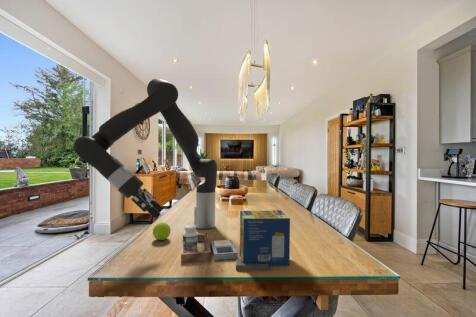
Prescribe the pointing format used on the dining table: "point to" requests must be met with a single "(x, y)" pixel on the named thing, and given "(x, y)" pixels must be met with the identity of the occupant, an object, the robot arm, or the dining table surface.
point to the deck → (223, 250)
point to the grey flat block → (251, 266)
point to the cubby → (198, 255)
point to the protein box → (265, 237)
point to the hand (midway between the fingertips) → (160, 213)
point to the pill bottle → (190, 239)
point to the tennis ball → (161, 231)
